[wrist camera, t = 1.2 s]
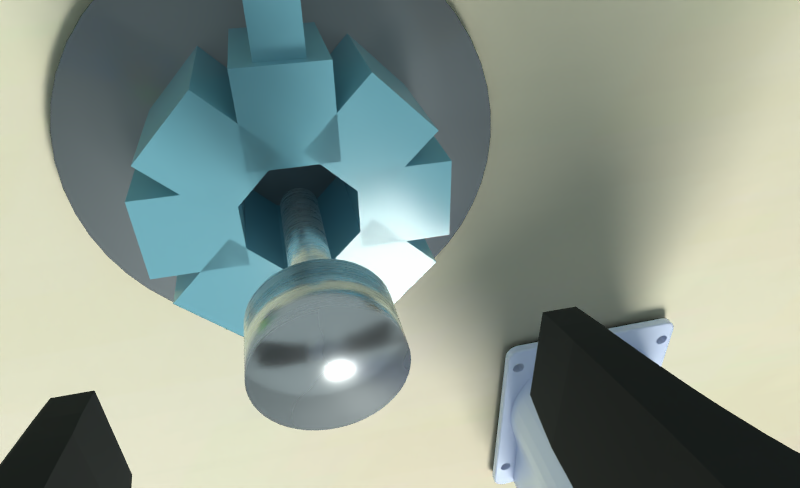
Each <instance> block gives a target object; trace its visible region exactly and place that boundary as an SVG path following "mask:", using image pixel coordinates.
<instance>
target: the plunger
mask: <svg viewBox="0 0 800 488" xmlns="http://www.w3.org/2000/svg"><path fill="white" fill-rule="evenodd" d="M280 210H281V218H282V225H283V233H284V240H285V248H286V256H287V263H288V267H287V268H285V269H283V270H281V271H279V272H277V273H276V274H274V275H273V276H271V277H270V278H269V279H267V280H266V281H265V282H264V283H263V284H262V285H261V286H260V287H259V288H258V289H257V290H256V292H255V293H254V294H253V296H252V297H251V299H250V301H249V303H248V305H247V308H246V311H245V315H244V366H245V386H246V391H247V394H248V397H249V399H250V400H251V402H252V404H253V405H254V406H255V408H256V409H257V410H258V411H259V412H260V413H262V414H263V415H264V416H265V417H267V418H268V419H270V420H272V421H274V422H276V423H278V424H281V425H284V426H287V427H290V428H295V429H302V430H327V429H333V428H339V427H343V426H347V425H350V424H353V423H356V422H358V421H360V420H363V419H365V418H367V417H369V416H371V415H372V414H374V413H376V412H377V411H379V410H380V409H382V408H383V407H384V406H385V405H387V404H388V403H389V402H390V401H391V400H392V399H393V398H394V397H395V396H396V395H397V393H398V392H399V391H400V390H401V388H402V386H403V385H404V383H405V381H406V379H407V376H408V374H409V370H410V364H411V355H410V349H409V346H408V343H407V340H406V337H405V334H404V332H403V329H402V326H401V323H400V320H399V318H398V315H397V312H396V309H395V306H394V304H393V301H392V298H391V295H390V293H389V291H388V289H387V287H386V285H385V284H384V283H383V281H382V280H381V279H380V278H379V277H378V276H377V275H376V274H374V273H373V272H372V271H370V270H369V269H367V268H365V267H363V266H361V265H358V264H356V263H353V262H349V261H345V260H338V259H331V256H330V251H329V247H328V243H327V239H326V235H325V231H324V227H323V222H322V218H321V214H320V210H319V206H318V202H317V198H316V196H315V195H314V194H313V193H312V192H311V191H309V190H307V189H303V188H296V189H292V190H290V191H288V192H287V193H285V194H284V195H283V197H282V199H281V201H280Z"/></svg>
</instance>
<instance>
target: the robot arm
mask: <svg viewBox="0 0 800 488" xmlns="http://www.w3.org/2000/svg"><path fill="white" fill-rule="evenodd" d="M672 331H673V324H672V323H671V322H670V321H669V320H668V319H666V318H661V319H656V320H650V321H645V322H640V323H635V324H629V325H624V326H619V327H614V328H608V329H607V328H606V327H604V326H603V325H601V324H600V323H599V322H597V321H596V320H594V319H593V318H591V317H590V316H589V315H587V314H586V313H584V312H583V311H581V310H580V309H578V308H577V307H571V308H566V309H560V310H554V311H548V312H543V315H542V321H541V327H540V334H539V340H538V342H535V343H529V344H524V345H519V346H515V347H513V348H511V349H510V350H509V351H508V352H507V354H506V359H505V368H504V377H503V385H502V394H501V403H500V412H499V421H498V430H497V439H496V448H495V457H494V466H493V478H494V481H495V482H496V483H497V484H505V483H509V482H513V481H514V482H515V485H516V487H517V488H800V453H798V452H796V451H794V450H792V449H791V448H789V447H787V446H785V445H784V444H782V443H780V442H778V441H777V440H775V439H773V438H772V437H770V436H768V435H766V434H765V433H763V432H761V431H760V430H758V429H757V428H755V427H753V426H752V425H750V424H748V423H747V422H745V421H744V420H742V419H740V418H739V417H737V416H735V415H734V414H732V413H731V412H729V411H727V410H726V409H724V408H722V407H721V406H719V405H718V404H716V403H715V402H713V401H712V400H710V399H709V398H707V397H705V396H704V395H702V394H701V393H699V392H698V391H696V390H695V389H693V388H692V387H690V386H689V385H687V384H686V383H684V382H683V381H681V380H680V379H678V378H677V377H675V376H674V375H672V374H671V373H670V372H668V371H667V370H665V369H664V368H662V367H661V365H662V362H663V359H664V356H665V353H666V350H667V347H668V344H669V341H670V338H671V334H672ZM517 364H518V365H517ZM131 483H132V474H131V472H130V469H129V467H128V465H127V463H126V460H125V458H124V456H123V454H122V451H121V449H120V447H119V445H118V442H117V440H116V438H115V436H114V433H113V431H112V429H111V427H110V424H109V422H108V420H107V418H106V415H105V413H104V411H103V409H102V406H101V404H100V402H99V400H98V397H97V395H96V393H95V391H89V392H84V393H78V394H72V395H66V396H61V397H55V398H50V399H49V401H48V402H47V403H46V404H45V406H44V407H43V408H42V409H41V411H40V412H39V413H38V415H37V416H36V417H35V419H34V420H33V421H32V422H31V424H30V425H29V426H28V428H27V429H26V430H25V432H24V433H23V434H22V436H21V437H20V438H19V440H18V441H17V442H16V444H15V445H14V447H13V448H12V449H11V451H10V452H9V453H8V455H7V456H6V457H5V459H4V460H3V461H2V463H1V464H0V488H131Z"/></svg>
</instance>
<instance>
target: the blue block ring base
mask: <svg viewBox="0 0 800 488" xmlns="http://www.w3.org/2000/svg"><path fill="white" fill-rule="evenodd" d="M50 133H51V140H52V147H53V153H54V160H55V164H56V167H57V170H58V173H59V177H60V180H61V183H62V186H63V189H64V191H65V193H66V195H67V197H68V200H69V202H70V204H71V206H72V208H73V210H74V212H75V214H76V215H77V217H78V218H79V220H80V221H81V223H82V225H83V226H84V228H85V229H86V231H87V232H88V234H89V235H90V236H91V238H92V239H93V240H94V241H95V242H96V243H97V245H98V246H99V247H100V248H101V249H102V250H103V251H104V253H105V254H106V255H107V256H108V257H109V258H110V259H111V260H112V261H114V262H115V263H116V264H117V265H118V266H119V267H120V268H121V269H122V270H124V271H125V272H126V273H127V274H128V275H130V276H131V277H133V278H134V279H135V280H137V281H138V282H140V283H141V284H143V285H144V286H145V287H147V288H148V289H150V290H152V291H154V292H156V293H157V294H159V295H161V296H163V297H165V298H167V299H168V300H170V301H173V304H175V305H177V306H179V307H181V308H183V309H186V310H188V311H190V312H192V313H194V314H196V315H198V316H200V317H202V318H205V319H207V320H209V321H211V322H213V323H215V324H217V325H219V326H221V327H224V328H226V329H228V330H230V331H232V332H234V333H236V334H238V335H240V336H243V337H244V315H245V311H246V308H247V305H248V303H249V301H250V299H251V297H252V296H253V294H254V293H255V292H256V290H257V289H258V288H259V287H260V286H261V285H262V284H263V283H264V282H265V281H266V280H267V279H269V278H270V277H271V276H273V275H274V274H276V273H277V272H279V271H281V270H283V269H285V268H287V267H288V263H287V256H286V248H285V240H284V233H283V225H282V218H281V210H280V201H281V199H282V197H283V195H284V194H285V193H287V192H288V191H290V190H292V189H296V188H303V189H307V190H309V191H311V192H312V193H313V194H314V195H315V196H316V198H317V202H318V206H319V210H320V214H321V218H322V222H323V227H324V231H325V235H326V239H327V243H328V247H329V251H330V256H331V259H338V260H345V261H349V262H353V263H356V264H358V265H361V266H363V267H365V268H367V269H369V270H370V271H372V272H373V273H374V274H376V275H377V276H378V277H379V278H380V279H381V280H382V281H383V283H384V284H385V285H386V287H387V289H388V291H389V293H390V295H391V298H392V301H393V304H394V303H395V302H396V301H397V300H398V299H400V298H401V297H402V296H403V295H404V294H405V293H406V292H407V291H408V290H409V289H410V288H411V287H412V286H413V285H414V284H415V283H416V282H417V281H418V280H419V279H420V278H421V277H422V276H423V275H424V274H425V273H426V272H427V271H428V270H429V269H430V268H431V267H432V266H433V265H434V264H435V263H436V260H435V257H436V256H437V254H438V253H439V252H440V251H441V250H442V249H443V248H444V247H445V246H446V245H447V243H448V242H449V241H450V239H451V238H452V237H453V235H454V234H455V232H456V231H457V230H458V228H459V227H460V225H461V224H462V222H463V220H464V219H465V217H466V215H467V213H468V211H469V210H470V208H471V206H472V204H473V202H474V199H475V197H476V194H477V192H478V189H479V187H480V184H481V181H482V178H483V174H484V170H485V166H486V163H487V158H488V150H489V143H490V104H489V97H488V89H487V84H486V81H485V77H484V73H483V70H482V66H481V62H480V60H479V57H478V55H477V53H476V50H475V48H474V46H473V43H472V41H471V39H470V37H469V35H468V33H467V32H466V30H465V28H464V27H463V25H462V23H461V22H460V20H459V18H458V17H457V15H456V13H455V12H454V11H453V10H452V8H451V7H450V6H449V5H448V3H447V2H446V1H445V0H93V1H92V2H91V4H90V5H89V6H88V8H87V9H86V10H85V11H84V13H83V14H82V15H81V17H80V19H79V21H78V22H77V24H76V26H75V28H74V30H73V32H72V33H71V35H70V37H69V39H68V41H67V43H66V45H65V48H64V51H63V54H62V56H61V59H60V62H59V65H58V68H57V71H56V75H55V80H54V86H53V92H52V98H51V117H50Z"/></svg>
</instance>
